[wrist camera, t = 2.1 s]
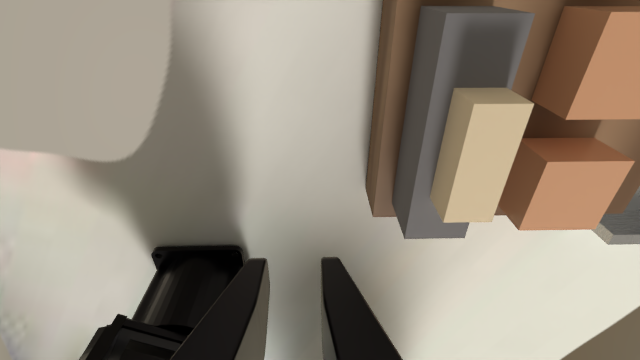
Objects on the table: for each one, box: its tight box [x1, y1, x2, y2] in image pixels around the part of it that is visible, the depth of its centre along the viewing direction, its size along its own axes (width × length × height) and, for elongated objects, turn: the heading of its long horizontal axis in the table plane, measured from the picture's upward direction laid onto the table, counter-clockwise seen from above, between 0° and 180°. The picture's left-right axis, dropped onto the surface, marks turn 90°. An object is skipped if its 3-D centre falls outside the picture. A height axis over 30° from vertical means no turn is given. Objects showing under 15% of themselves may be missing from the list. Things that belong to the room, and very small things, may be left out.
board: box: [366, 0, 640, 217], centre depth 18 cm, size 15×12×3 cm
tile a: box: [498, 138, 635, 230], centre depth 17 cm, size 4×4×2 cm
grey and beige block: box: [392, 6, 535, 239], centre depth 14 cm, size 3×10×5 cm, turn 0°
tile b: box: [531, 6, 640, 120], centre depth 14 cm, size 4×4×2 cm
